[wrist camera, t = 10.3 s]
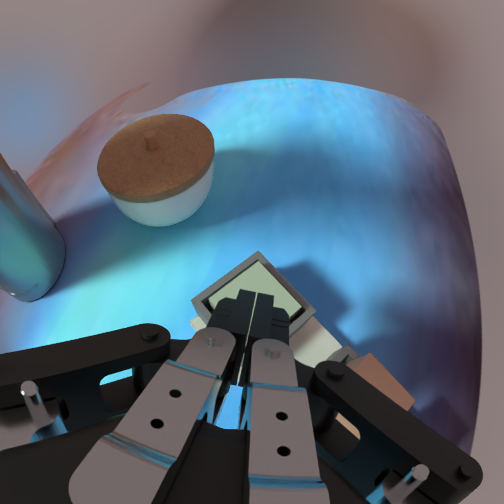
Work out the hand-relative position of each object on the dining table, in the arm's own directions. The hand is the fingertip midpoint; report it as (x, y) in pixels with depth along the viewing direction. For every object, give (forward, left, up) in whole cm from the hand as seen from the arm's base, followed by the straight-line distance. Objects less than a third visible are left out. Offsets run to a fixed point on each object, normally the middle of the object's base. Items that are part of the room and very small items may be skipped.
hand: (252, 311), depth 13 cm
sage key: (-2, +1, -10) cm, 10 cm away
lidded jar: (-17, -3, -12) cm, 21 cm away
